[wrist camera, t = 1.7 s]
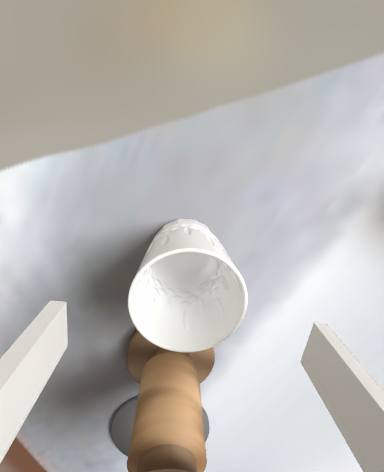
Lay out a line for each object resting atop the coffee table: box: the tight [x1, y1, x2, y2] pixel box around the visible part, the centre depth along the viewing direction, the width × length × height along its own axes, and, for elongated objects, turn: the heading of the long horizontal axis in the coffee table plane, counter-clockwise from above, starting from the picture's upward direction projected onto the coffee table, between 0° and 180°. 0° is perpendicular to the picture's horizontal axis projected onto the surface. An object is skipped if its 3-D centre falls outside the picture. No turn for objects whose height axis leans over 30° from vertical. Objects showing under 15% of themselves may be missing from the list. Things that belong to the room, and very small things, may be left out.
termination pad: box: [111, 396, 209, 456], centre depth 33 cm, size 13×13×1 cm
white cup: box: [128, 219, 248, 352], centre depth 21 cm, size 8×8×10 cm
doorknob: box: [127, 330, 215, 472], centre depth 22 cm, size 10×10×15 cm
